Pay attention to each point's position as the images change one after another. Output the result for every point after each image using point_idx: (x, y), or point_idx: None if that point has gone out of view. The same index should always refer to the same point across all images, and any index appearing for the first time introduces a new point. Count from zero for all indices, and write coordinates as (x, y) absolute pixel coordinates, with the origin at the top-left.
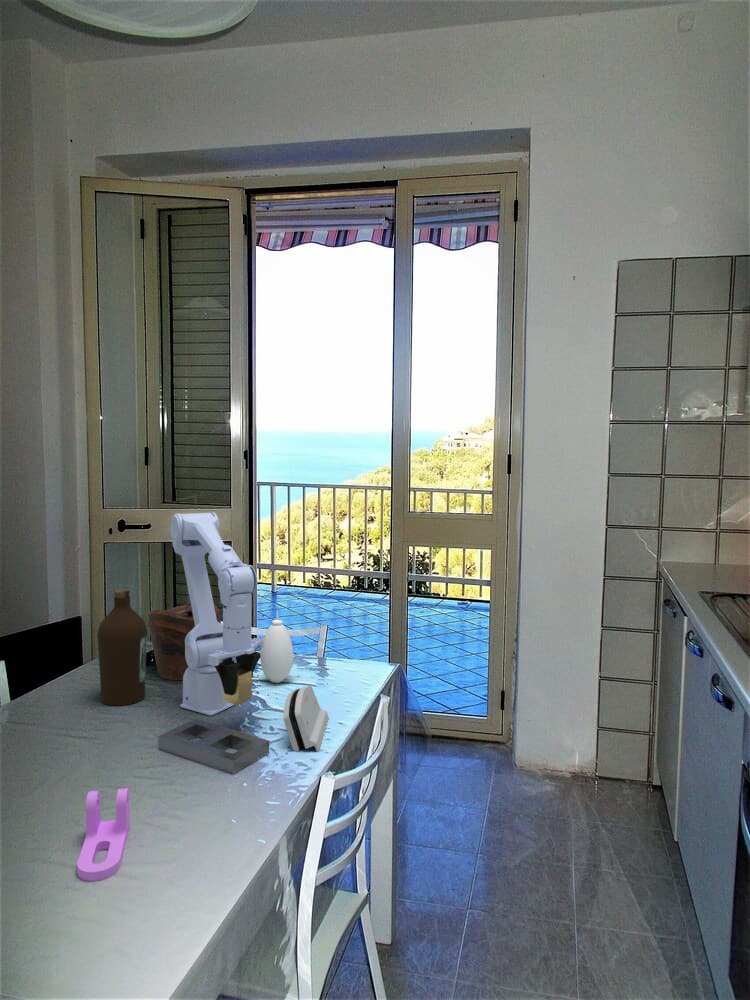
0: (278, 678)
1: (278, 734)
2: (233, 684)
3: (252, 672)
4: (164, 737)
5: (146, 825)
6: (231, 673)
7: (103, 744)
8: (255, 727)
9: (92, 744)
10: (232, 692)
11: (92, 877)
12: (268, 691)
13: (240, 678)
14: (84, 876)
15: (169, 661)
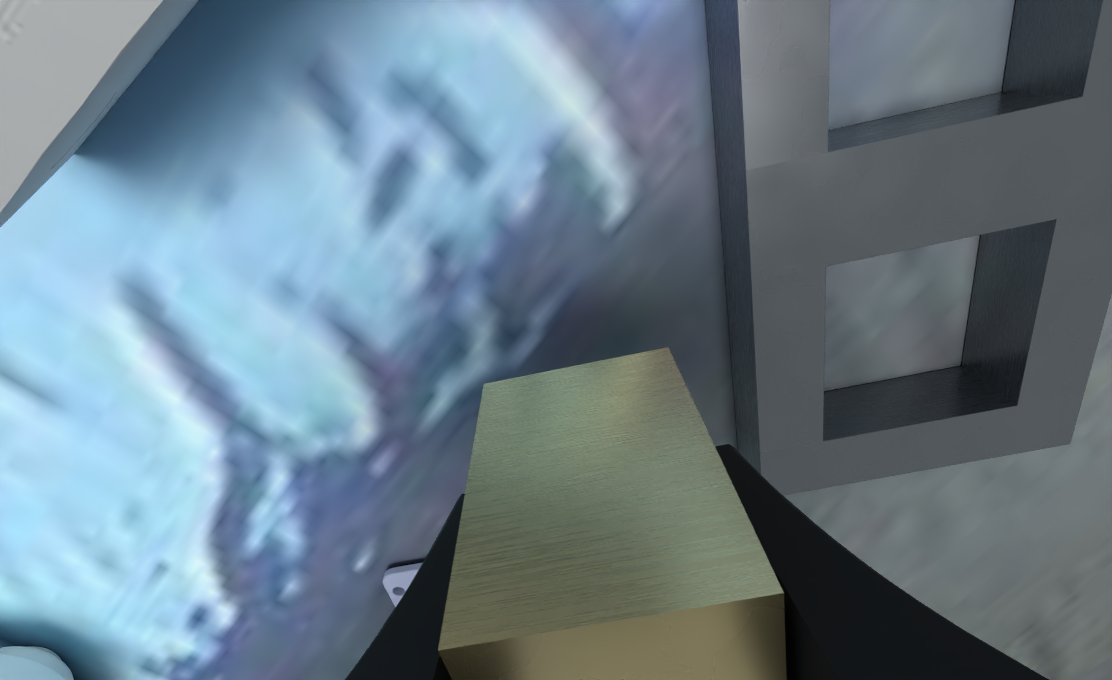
0: (15, 663)
1: (410, 61)
2: (792, 517)
3: (394, 636)
4: (1071, 408)
5: None
6: (1030, 672)
7: (1070, 571)
8: (469, 276)
9: (1087, 593)
10: (744, 458)
11: None
12: (138, 599)
13: (717, 556)
14: None
15: None
